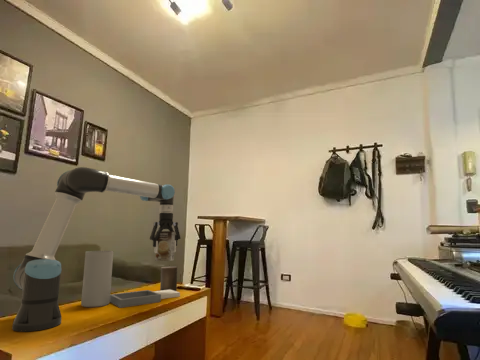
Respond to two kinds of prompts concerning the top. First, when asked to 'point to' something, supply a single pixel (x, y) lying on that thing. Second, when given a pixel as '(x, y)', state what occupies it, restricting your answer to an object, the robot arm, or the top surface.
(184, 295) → the top surface
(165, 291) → the board
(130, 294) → the bin
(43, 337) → the top surface
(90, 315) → the top surface
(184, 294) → the top surface
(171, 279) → the brown box
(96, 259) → the cylinder vase
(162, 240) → the coffee box
